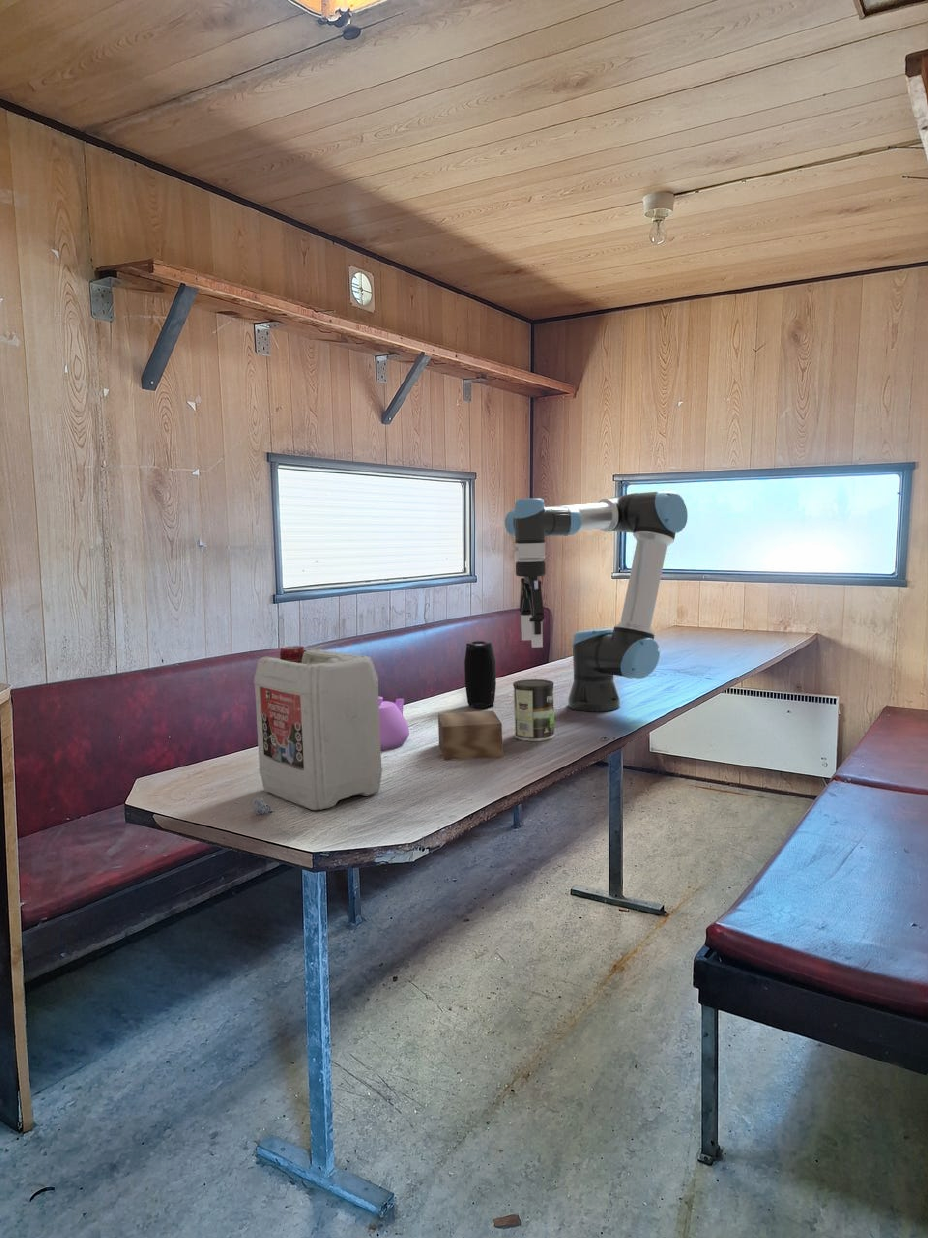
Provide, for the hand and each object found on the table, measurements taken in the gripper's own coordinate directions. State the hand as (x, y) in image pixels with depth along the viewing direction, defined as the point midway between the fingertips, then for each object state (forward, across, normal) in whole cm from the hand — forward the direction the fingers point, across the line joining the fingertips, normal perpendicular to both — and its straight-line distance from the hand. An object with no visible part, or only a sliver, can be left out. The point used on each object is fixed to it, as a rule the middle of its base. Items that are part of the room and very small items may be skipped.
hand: (531, 643), depth 205 cm
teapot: (+24, -2, -40) cm, 47 cm away
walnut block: (+24, +10, -18) cm, 32 cm away
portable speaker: (+24, -38, -9) cm, 46 cm away
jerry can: (+24, +35, -52) cm, 67 cm away
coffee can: (+24, 0, 0) cm, 24 cm away
